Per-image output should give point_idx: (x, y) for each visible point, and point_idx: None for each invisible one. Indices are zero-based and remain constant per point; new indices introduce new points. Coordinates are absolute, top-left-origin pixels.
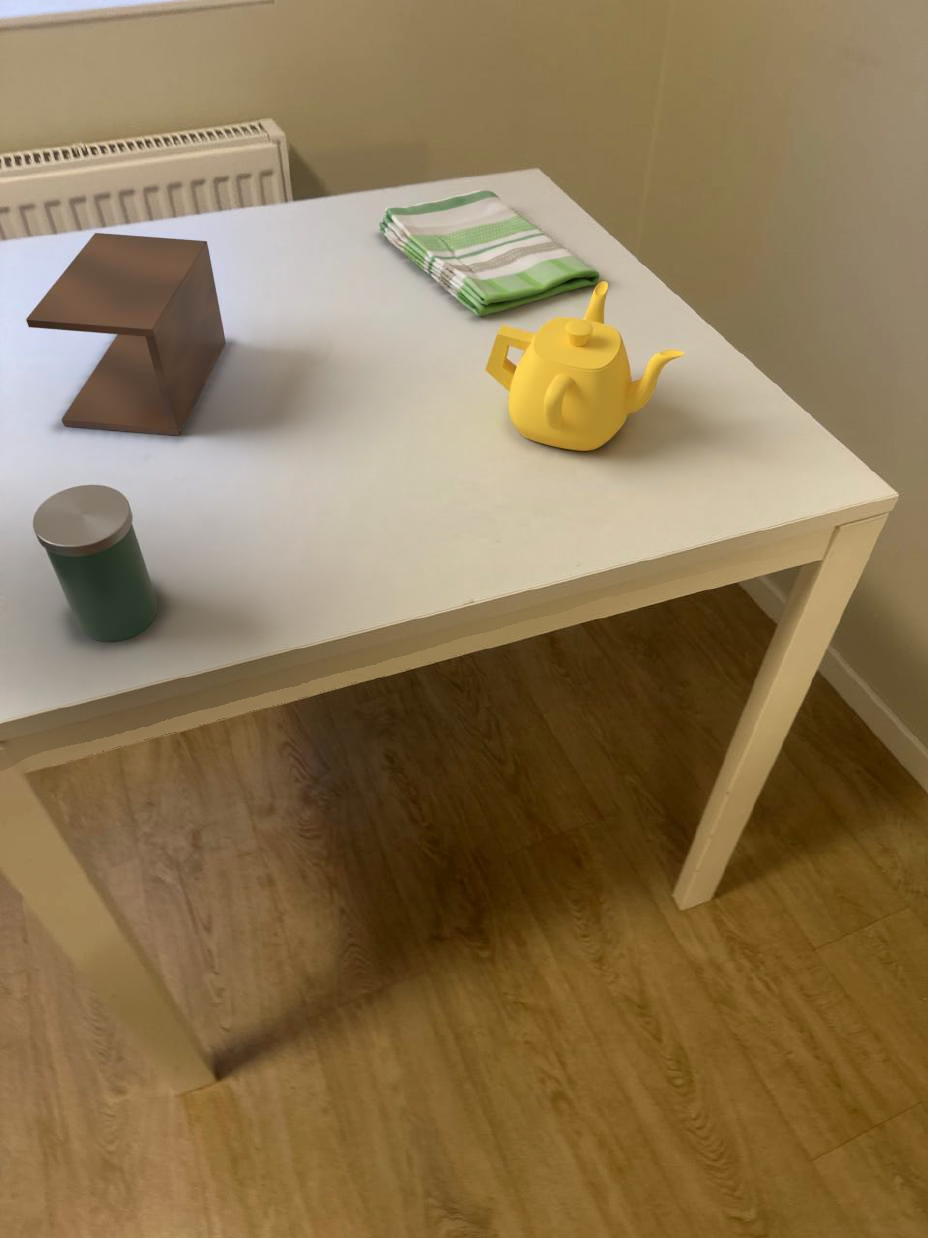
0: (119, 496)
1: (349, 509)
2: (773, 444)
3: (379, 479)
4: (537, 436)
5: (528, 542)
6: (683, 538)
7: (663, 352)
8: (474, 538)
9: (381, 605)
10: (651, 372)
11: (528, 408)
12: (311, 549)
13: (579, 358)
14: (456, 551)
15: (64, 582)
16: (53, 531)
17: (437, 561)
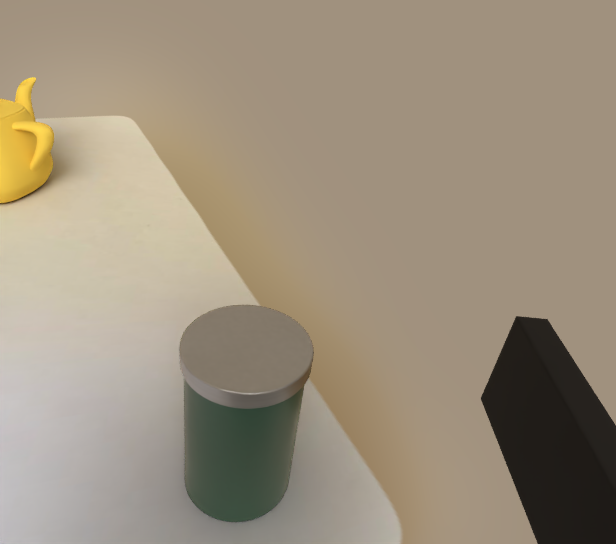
0: (208, 315)
1: (80, 298)
2: (68, 129)
3: (35, 280)
4: (26, 188)
5: (152, 214)
6: (158, 165)
7: (22, 84)
8: (142, 234)
9: (221, 279)
10: (29, 101)
11: (12, 167)
12: (140, 321)
13: (3, 109)
14: (157, 243)
15: (292, 430)
16: (287, 363)
17: (169, 252)
